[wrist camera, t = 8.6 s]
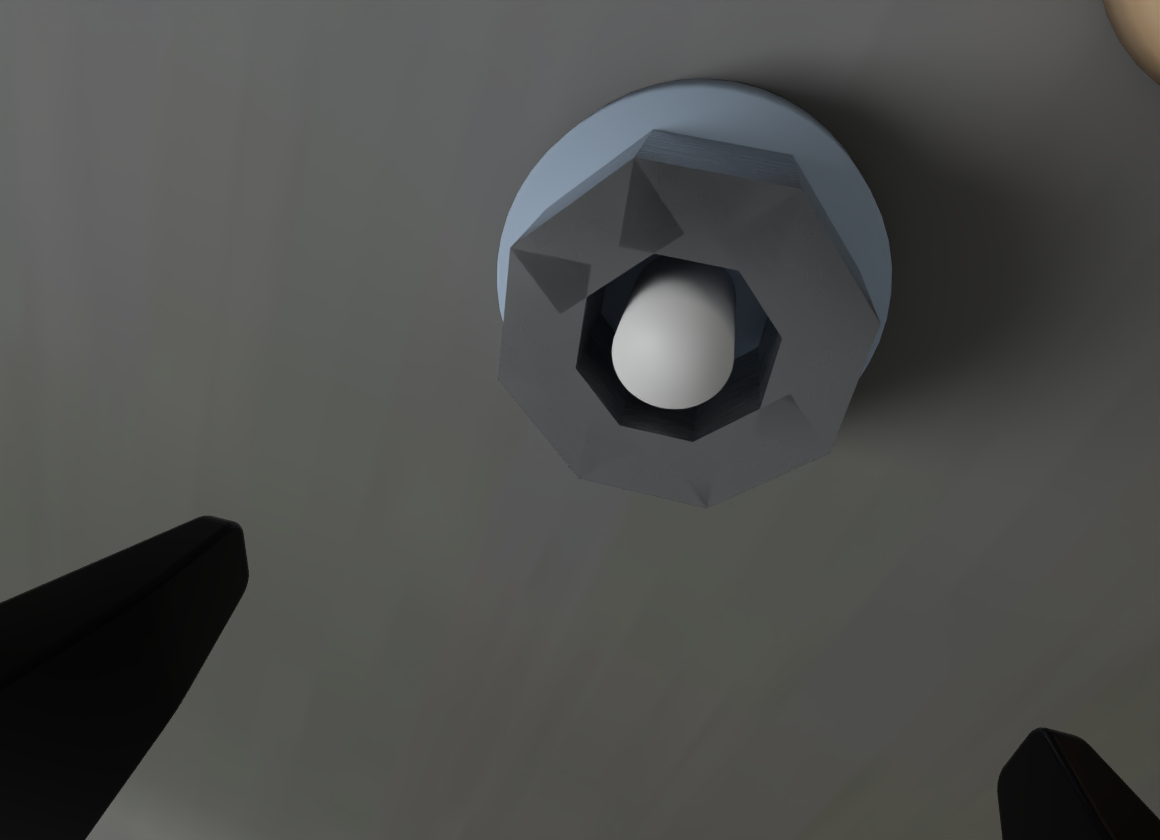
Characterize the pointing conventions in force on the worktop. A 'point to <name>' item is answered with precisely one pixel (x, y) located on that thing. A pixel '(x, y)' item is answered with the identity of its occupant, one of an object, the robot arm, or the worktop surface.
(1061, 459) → the worktop surface
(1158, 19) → the stand
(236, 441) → the worktop surface
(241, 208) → the worktop surface
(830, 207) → the hub
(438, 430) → the worktop surface
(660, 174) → the ring
